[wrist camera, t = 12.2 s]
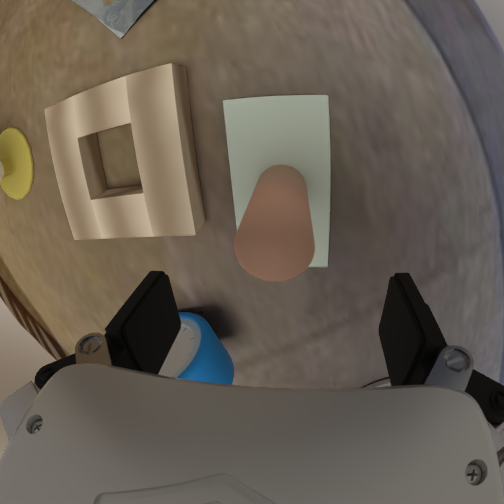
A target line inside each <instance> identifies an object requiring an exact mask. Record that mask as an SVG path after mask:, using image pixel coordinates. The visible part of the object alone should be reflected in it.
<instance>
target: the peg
mask: <svg viewBox="0 0 504 504" xmlns="http://www.w3.org/2000/svg"><path fill="white" fill-rule="evenodd" d="M234 251H235V255H236V258H237V260H238V262H239V263H240V265H241V266H242V267H243V268H244V269H245V270H246V271H247V272H248V273H249V274H251V275H252V276H254V277H256V278H258V279H261V280H265V281H270V282H282V281H287V280H290V279H293V278H295V277H297V276H299V275H300V274H301V273H303V272H304V271H305V270H306V269H307V268H308V266H309V265H310V263H311V262H312V259H313V257H314V253H315V242H314V234H313V227H312V220H311V213H310V207H309V200H308V194H307V188H306V183H305V180H304V178H303V176H302V175H301V173H300V172H299V171H297V170H296V169H295V168H293V167H291V166H287V165H275V166H272V167H269V168H268V169H266V170H265V171H264V172H263V173H262V174H261V176H260V177H259V179H258V182H257V184H256V187H255V189H254V191H253V194H252V196H251V198H250V201H249V203H248V206H247V208H246V210H245V213H244V215H243V218H242V220H241V222H240V225H239V227H238V230H237V232H236V235H235V238H234Z"/></svg>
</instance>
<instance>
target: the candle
mask: <svg viewBox="0 0 504 504" xmlns="http://www.w3.org/2000/svg"><path fill="white" fill-rule="evenodd" d="M33 179H34V161H33V156H32V151H31V147H30V145H29V143H28V140H27V138H26V136H25V135H24V134H23V133H22V132H21V131H20V130H19V129H18V128H14V127H9V128H7V129H6V130H4V131H3V132H2V133H1V135H0V184H1V187H2V189H3V190H4V191H5V192H6V193H7V195H8V196H9V197H12V198H14V199H16V200H17V199H21V198H25V197H26V195H27V194H28V193H29V191H30V190H31V186H32V182H33Z"/></svg>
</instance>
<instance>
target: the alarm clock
mask: <svg viewBox="0 0 504 504" xmlns="http://www.w3.org/2000/svg"><path fill="white" fill-rule="evenodd" d="M178 313H179V316H180V320H181V329H180V331H179V333H178V335H177V337H176V339H175V341H174V343H173V345H172V347H171V349H170V351H169V353H168V355H167V357H166V359H165V361H164V363H163V366H162V368H161V370H160V372H159V374H158V375H164V376H169V377H175V378H182V379H189V380H196V381H203V382H211V383H220V384H229V385H232V382H233V378H234V366H233V362H232V359H231V357H230V355H229V354H228V352H227V351H226V349H225V348H224V346H223V345H222V343H221V342H220V340H219V339H218V337H217V335H216V334H215V332H214V331H213V329H212V328H211V326H210V325H209V323H208V322H207V321H206V320H205V319H204V318H203V317H201V315H202V314H203V311H200V312H199V313H197V314H194V313H190V312H178Z"/></svg>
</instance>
